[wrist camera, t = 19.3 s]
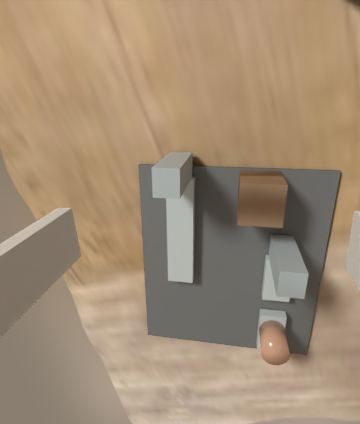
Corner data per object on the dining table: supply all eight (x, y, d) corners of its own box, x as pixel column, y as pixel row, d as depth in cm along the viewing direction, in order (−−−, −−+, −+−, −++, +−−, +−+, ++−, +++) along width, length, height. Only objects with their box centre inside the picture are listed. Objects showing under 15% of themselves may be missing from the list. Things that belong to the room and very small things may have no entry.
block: (239, 169, 43) (240, 183, 36) (280, 171, 42) (288, 184, 35) (237, 206, 44) (237, 225, 38) (275, 208, 44) (282, 228, 37)
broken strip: (267, 234, 45) (276, 271, 35) (296, 236, 44) (312, 274, 35) (256, 341, 52) (260, 396, 43) (280, 344, 52) (290, 400, 42)
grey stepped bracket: (167, 151, 43) (148, 167, 34) (195, 152, 42) (183, 168, 33) (170, 275, 50) (154, 316, 41) (193, 277, 50) (183, 320, 40)
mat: (139, 164, 45) (138, 164, 45) (339, 170, 41) (340, 171, 40) (148, 333, 57) (148, 334, 56) (305, 353, 52) (306, 354, 52)
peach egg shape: (260, 318, 48) (262, 342, 44) (286, 321, 48) (291, 345, 43) (258, 338, 50) (260, 363, 45) (283, 341, 49) (288, 366, 45)
